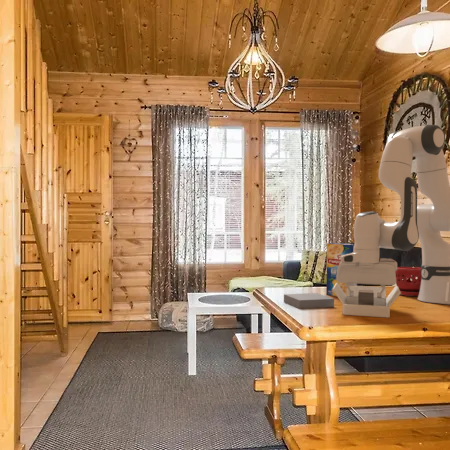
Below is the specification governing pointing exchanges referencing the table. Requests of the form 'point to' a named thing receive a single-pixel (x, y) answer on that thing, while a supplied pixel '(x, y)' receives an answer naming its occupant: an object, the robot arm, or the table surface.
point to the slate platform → (308, 300)
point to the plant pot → (408, 280)
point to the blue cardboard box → (336, 265)
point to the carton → (378, 310)
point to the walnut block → (366, 297)
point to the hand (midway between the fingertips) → (365, 296)
